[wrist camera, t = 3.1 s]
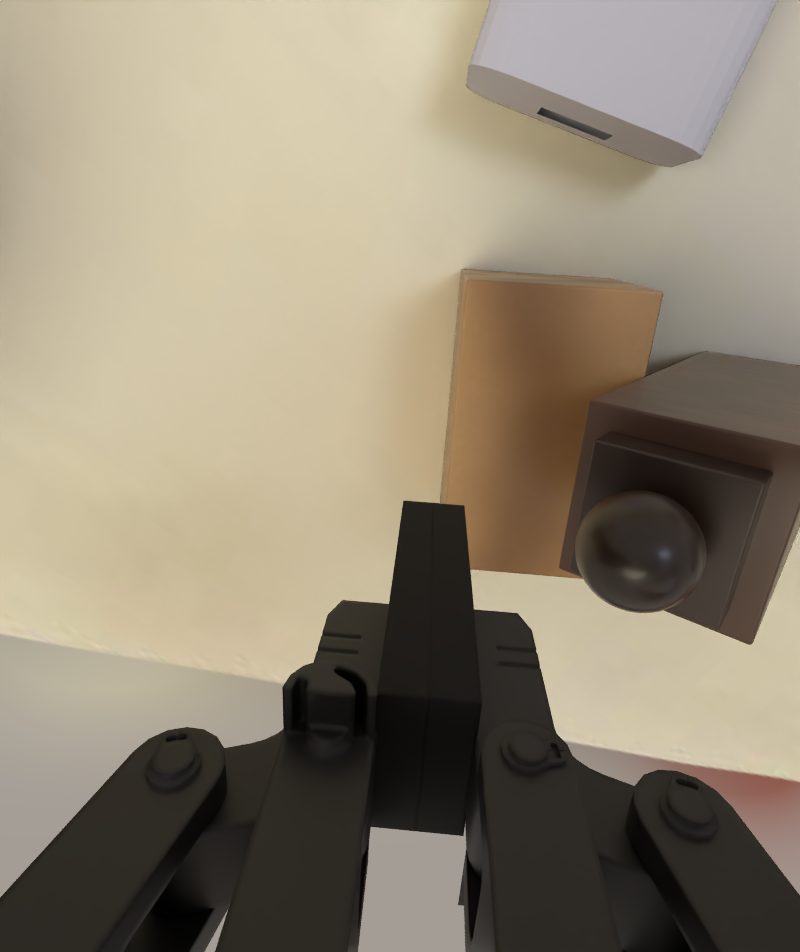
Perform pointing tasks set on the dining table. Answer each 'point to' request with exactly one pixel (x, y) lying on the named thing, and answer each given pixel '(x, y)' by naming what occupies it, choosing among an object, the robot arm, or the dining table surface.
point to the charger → (619, 67)
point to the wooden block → (533, 403)
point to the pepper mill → (690, 491)
